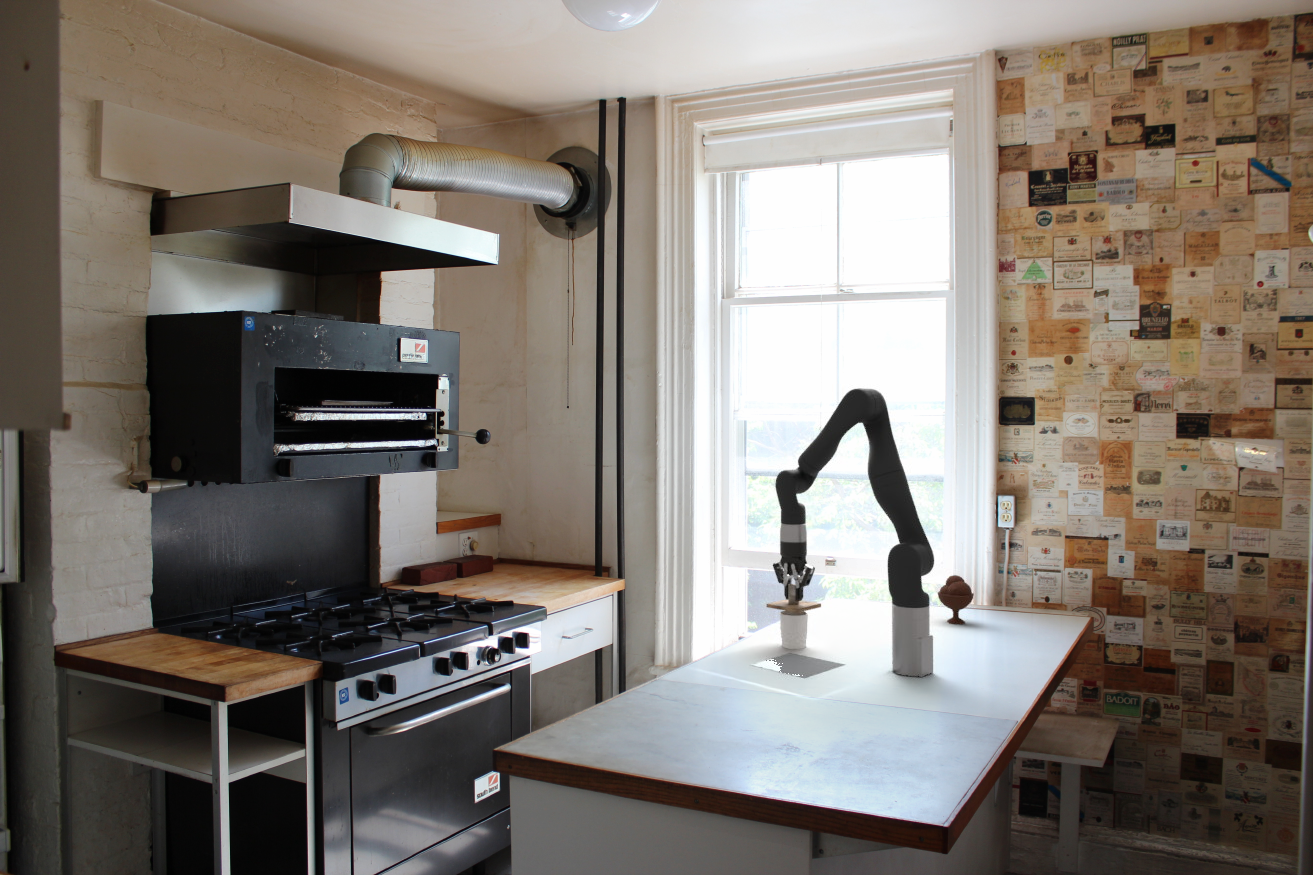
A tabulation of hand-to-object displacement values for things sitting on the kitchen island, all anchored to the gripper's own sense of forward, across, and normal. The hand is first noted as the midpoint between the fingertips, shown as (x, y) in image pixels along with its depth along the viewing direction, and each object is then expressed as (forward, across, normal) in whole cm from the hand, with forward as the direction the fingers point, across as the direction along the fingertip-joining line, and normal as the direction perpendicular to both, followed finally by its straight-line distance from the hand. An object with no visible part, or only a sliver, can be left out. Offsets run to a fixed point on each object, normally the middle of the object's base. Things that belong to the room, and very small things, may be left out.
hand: (793, 599), depth 252 cm
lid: (+2, 0, 0) cm, 2 cm away
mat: (+14, -13, +16) cm, 25 cm away
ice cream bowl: (+14, -17, -63) cm, 67 cm away
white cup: (+14, 0, 0) cm, 14 cm away
